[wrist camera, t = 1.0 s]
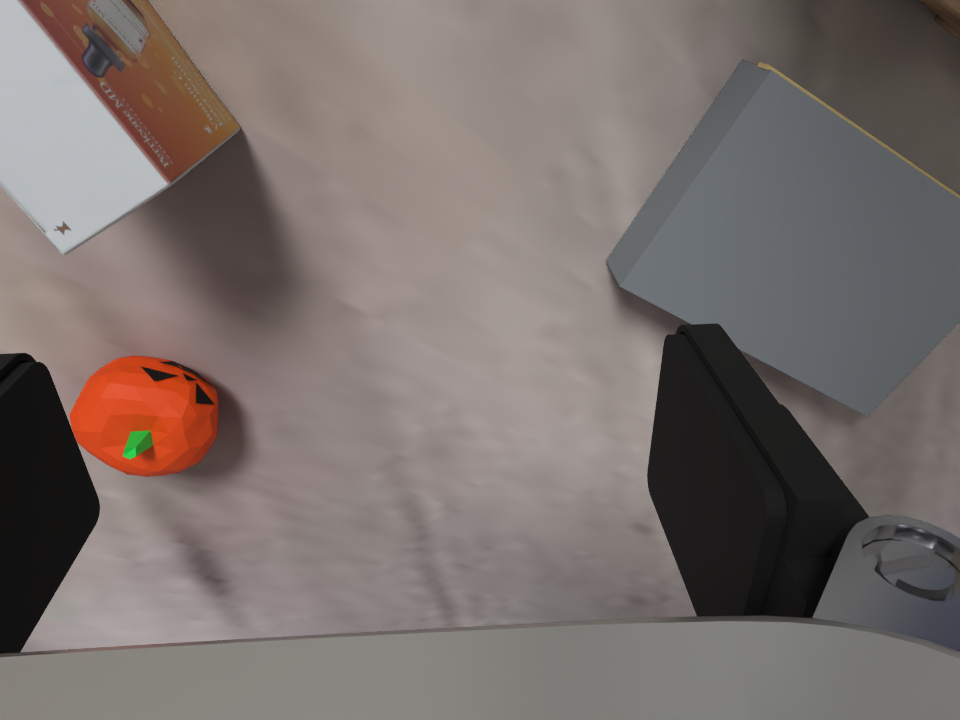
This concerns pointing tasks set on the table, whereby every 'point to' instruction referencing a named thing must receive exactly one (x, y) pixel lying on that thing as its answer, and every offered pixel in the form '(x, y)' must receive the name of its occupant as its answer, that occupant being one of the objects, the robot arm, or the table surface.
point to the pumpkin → (146, 416)
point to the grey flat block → (800, 241)
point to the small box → (97, 113)
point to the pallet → (946, 14)
